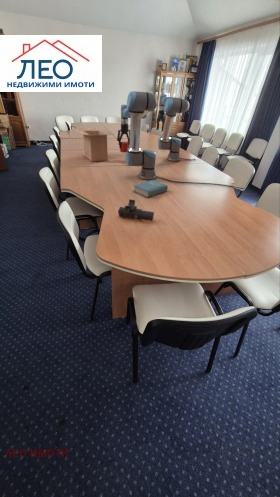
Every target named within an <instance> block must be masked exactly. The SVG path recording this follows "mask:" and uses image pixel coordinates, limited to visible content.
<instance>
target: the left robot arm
mask: <svg viewBox="0 0 280 497" xmlns="http://www.w3.org/2000/svg"><path fill="white" fill-rule="evenodd" d="M157 106H158V99H157V96H156V95H155V94H153V93H152V92H149V91H137V90H136V91H135V90H134V91H130V92H129V93H128V94H127V99H126V104H121V105H120V129H117V137H116V141H117V142H118V148H119V150H120V149H121V142H122V139H123V136H124V135H125V137H126V138H127V141H126V142H128V152H126V153H124V154H125V156H124V157H125V162H126V165H127V166H128V167H141V169H140V172H139V178H140V179H142V180H146V181H150V180H156V178H158V179H161V180H165V181H168V182H172V183H181V184H195V182H192V181H176V180H170V179H167V178H164V177H160V176H157V174H156V169H155V167H156V158H157V153H156V152H155V151H154V150H152V149H151V150H150V149H142V148H140V147H141V132H142V119H146V118H147V116H148V114H149V113H150V112H154V111H155V110H156V109H157ZM129 119H130V120H129ZM129 121H130V122H129ZM196 184H197V185H199V184H201V185H217V186H223V187H229V188H234V189H235V188H236V189H240V190H244V187H240V186H235V185H229V184H221V183H213V182H212V183H211V182H196Z"/></svg>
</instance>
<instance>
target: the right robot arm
mask: <svg viewBox="0 0 280 497" xmlns="http://www.w3.org/2000/svg"><path fill="white" fill-rule="evenodd" d="M189 108H190V103H189V101H188V100H187V99H184V98H182V97H173V96H168V95H167V94H166V93H161V94H160V95H159V106H158V114H157V118H156V121H155V123H156V131H158V130H160V122H161V135H160V136H159V137H158V138H157V148H158V150H161V151H169V152H168V154H167V156H166V159H167V160H168V161H170V162H180V161H181V160H185V161H196V159H195V158H192V159H189V158H183V157H181V154H180V152H181V145H182V139H181V138H178V137H175V136H172V137H170V136H171V132H172V128H173V125H174V120H175V118H176V116H177V115H178V114H184V113H186V112H187V111H188V110H189Z"/></svg>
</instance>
